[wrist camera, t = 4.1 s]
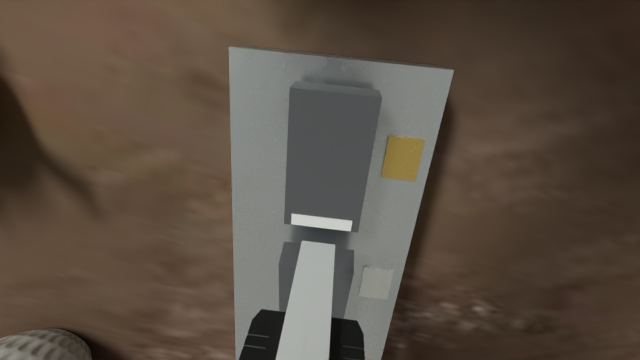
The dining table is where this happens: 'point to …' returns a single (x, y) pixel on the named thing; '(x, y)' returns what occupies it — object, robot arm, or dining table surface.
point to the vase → (44, 346)
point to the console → (381, 190)
